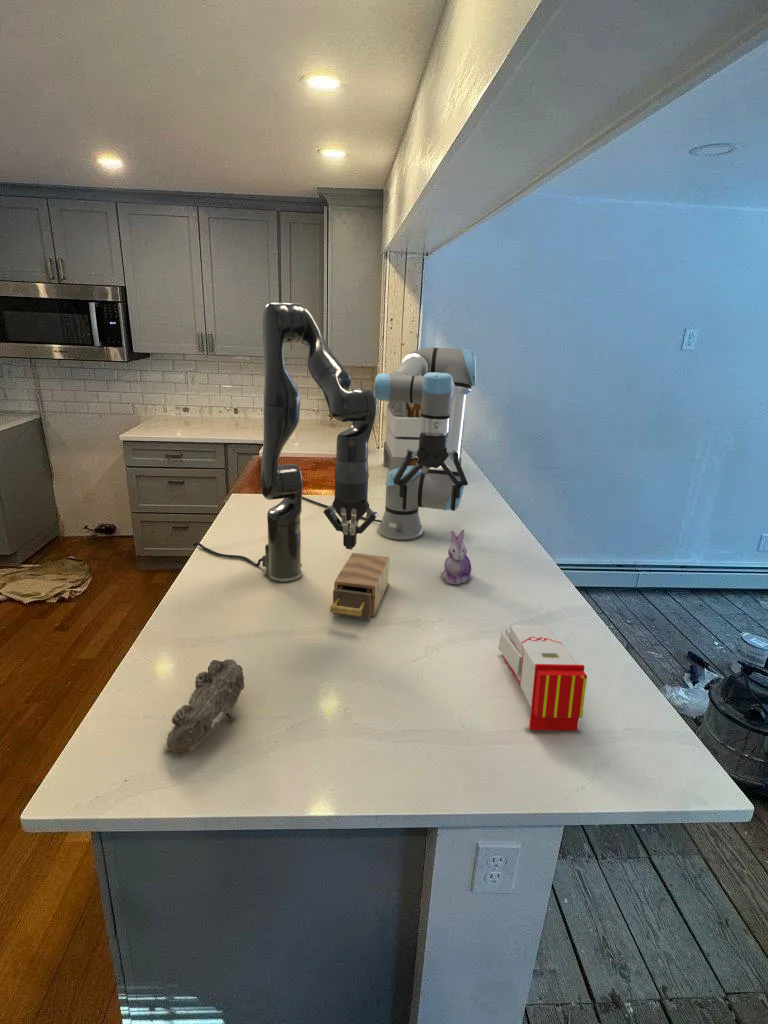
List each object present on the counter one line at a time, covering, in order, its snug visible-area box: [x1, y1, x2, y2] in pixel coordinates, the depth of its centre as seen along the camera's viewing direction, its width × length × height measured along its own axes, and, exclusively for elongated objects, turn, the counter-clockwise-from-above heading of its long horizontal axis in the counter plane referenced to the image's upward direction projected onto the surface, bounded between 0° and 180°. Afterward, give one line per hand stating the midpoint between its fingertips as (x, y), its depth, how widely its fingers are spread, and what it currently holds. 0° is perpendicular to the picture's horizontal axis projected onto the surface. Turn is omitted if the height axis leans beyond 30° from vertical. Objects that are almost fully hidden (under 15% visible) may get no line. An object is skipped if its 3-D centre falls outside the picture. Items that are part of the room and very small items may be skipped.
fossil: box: [166, 658, 245, 754], centre depth 106 cm, size 22×10×15 cm
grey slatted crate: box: [383, 401, 465, 472], centre depth 268 cm, size 34×33×41 cm
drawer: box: [329, 585, 372, 620], centre depth 148 cm, size 24×10×7 cm, turn 169°
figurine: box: [442, 529, 472, 585], centre depth 166 cm, size 9×10×15 cm
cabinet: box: [334, 552, 390, 617], centre depth 154 cm, size 19×11×9 cm, turn 169°
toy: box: [498, 624, 588, 732], centre depth 119 cm, size 12×13×30 cm
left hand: (349, 547), depth 134 cm, fingers closed
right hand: (428, 508), depth 157 cm, fingers open, 13 cm apart
